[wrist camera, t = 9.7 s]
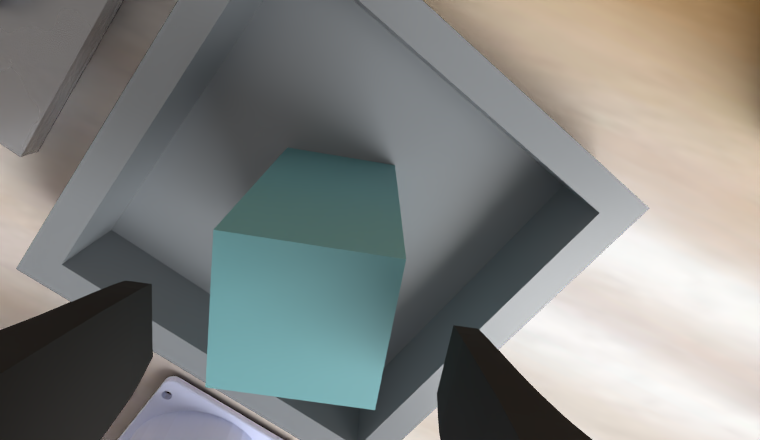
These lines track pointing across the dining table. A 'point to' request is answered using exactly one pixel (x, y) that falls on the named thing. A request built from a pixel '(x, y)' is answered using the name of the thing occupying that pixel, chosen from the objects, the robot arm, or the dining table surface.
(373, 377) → the strut
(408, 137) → the bin
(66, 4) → the stud plate
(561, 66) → the dining table surface
